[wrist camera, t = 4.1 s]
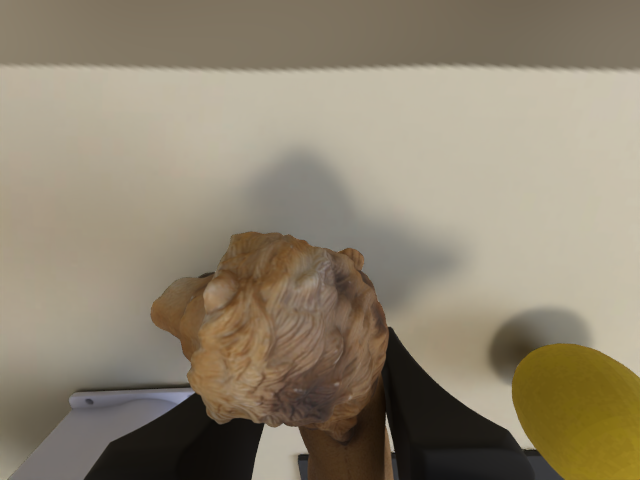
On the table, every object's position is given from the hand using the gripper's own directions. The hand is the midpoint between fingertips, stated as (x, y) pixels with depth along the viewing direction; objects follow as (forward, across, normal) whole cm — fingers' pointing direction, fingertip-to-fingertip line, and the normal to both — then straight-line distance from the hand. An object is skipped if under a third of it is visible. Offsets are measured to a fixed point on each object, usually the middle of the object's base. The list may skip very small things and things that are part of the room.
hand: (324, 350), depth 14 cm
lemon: (+5, -12, +5) cm, 14 cm away
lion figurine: (+2, 0, 0) cm, 2 cm away
